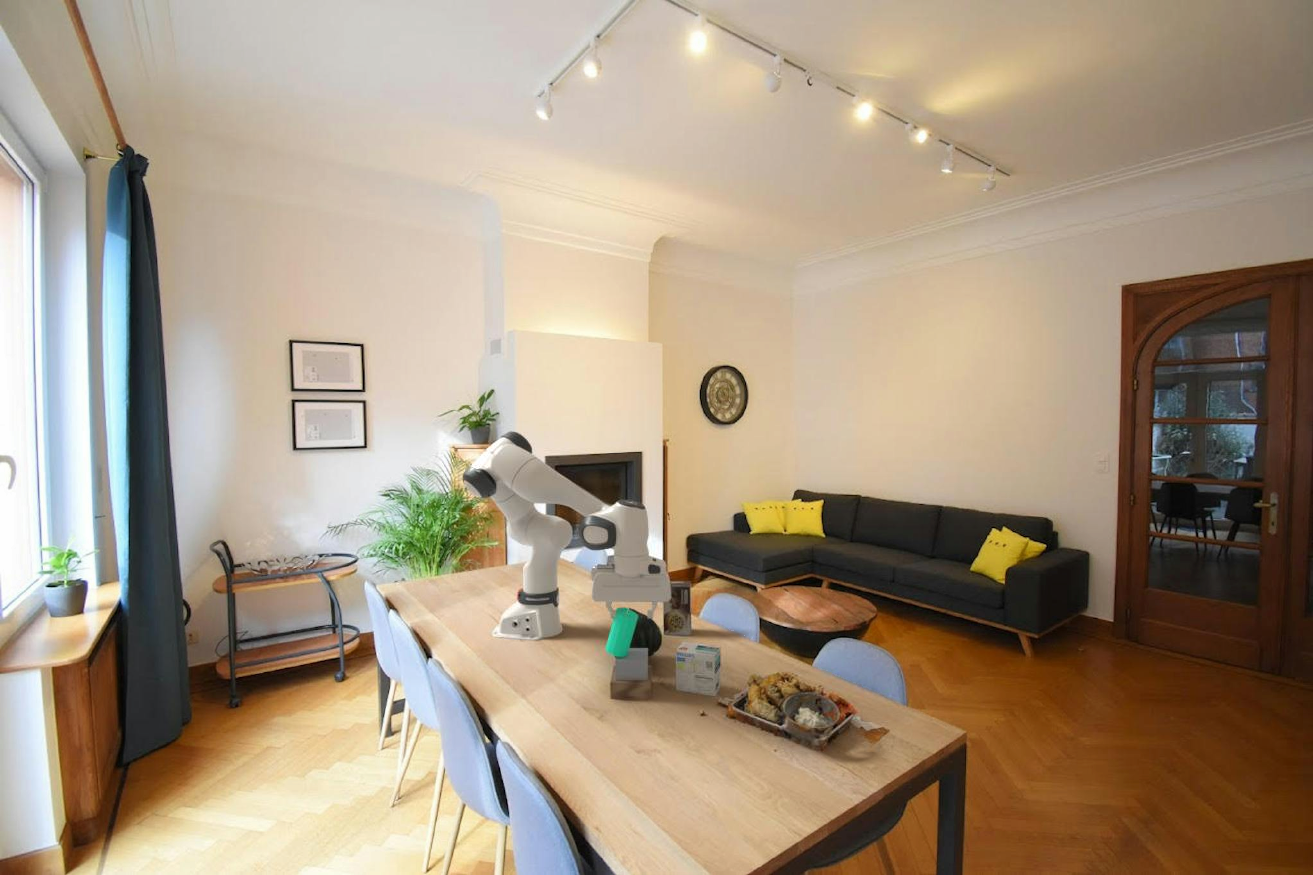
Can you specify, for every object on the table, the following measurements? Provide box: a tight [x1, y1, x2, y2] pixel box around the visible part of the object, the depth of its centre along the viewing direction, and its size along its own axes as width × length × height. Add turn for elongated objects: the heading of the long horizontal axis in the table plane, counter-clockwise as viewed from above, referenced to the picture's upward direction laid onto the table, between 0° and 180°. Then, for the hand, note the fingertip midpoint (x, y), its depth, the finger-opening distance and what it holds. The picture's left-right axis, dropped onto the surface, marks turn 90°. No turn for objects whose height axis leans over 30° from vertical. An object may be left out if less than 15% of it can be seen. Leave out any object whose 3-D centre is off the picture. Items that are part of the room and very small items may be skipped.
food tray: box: [699, 669, 890, 752], centre depth 133 cm, size 35×26×11 cm
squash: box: [614, 607, 663, 659], centre depth 166 cm, size 14×15×15 cm
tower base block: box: [609, 664, 653, 700], centre depth 150 cm, size 10×10×5 cm
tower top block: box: [614, 648, 649, 680], centre depth 150 cm, size 8×8×5 cm
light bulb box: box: [675, 641, 722, 697], centre depth 151 cm, size 11×7×11 cm, turn 71°
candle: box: [604, 606, 638, 657], centre depth 149 cm, size 6×6×12 cm
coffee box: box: [662, 580, 693, 636], centre depth 191 cm, size 9×6×16 cm
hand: (631, 618), depth 149 cm, fingers open, 8 cm apart
